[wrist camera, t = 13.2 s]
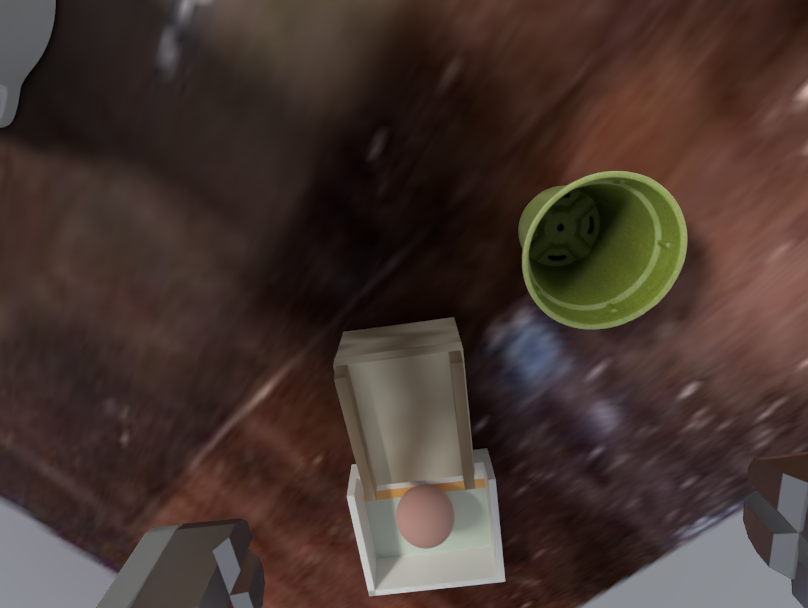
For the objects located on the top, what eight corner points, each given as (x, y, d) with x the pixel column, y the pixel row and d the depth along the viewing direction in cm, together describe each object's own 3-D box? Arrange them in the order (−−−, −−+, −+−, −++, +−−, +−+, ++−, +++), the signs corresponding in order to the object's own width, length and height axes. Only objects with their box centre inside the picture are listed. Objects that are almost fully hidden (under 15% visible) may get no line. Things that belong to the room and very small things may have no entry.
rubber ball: (392, 475, 42) (391, 518, 37) (448, 469, 42) (453, 510, 37) (401, 519, 44) (400, 565, 39) (454, 513, 44) (460, 559, 39)
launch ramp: (368, 458, 42) (361, 521, 35) (343, 330, 38) (329, 374, 31) (468, 445, 42) (481, 507, 35) (453, 316, 38) (465, 356, 31)
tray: (372, 558, 46) (369, 596, 42) (351, 464, 42) (346, 496, 39) (496, 544, 46) (505, 581, 42) (487, 448, 42) (495, 478, 38)
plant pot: (617, 282, 37) (678, 324, 29) (496, 292, 37) (523, 336, 29) (626, 157, 34) (697, 163, 26) (494, 168, 34) (522, 178, 26)
